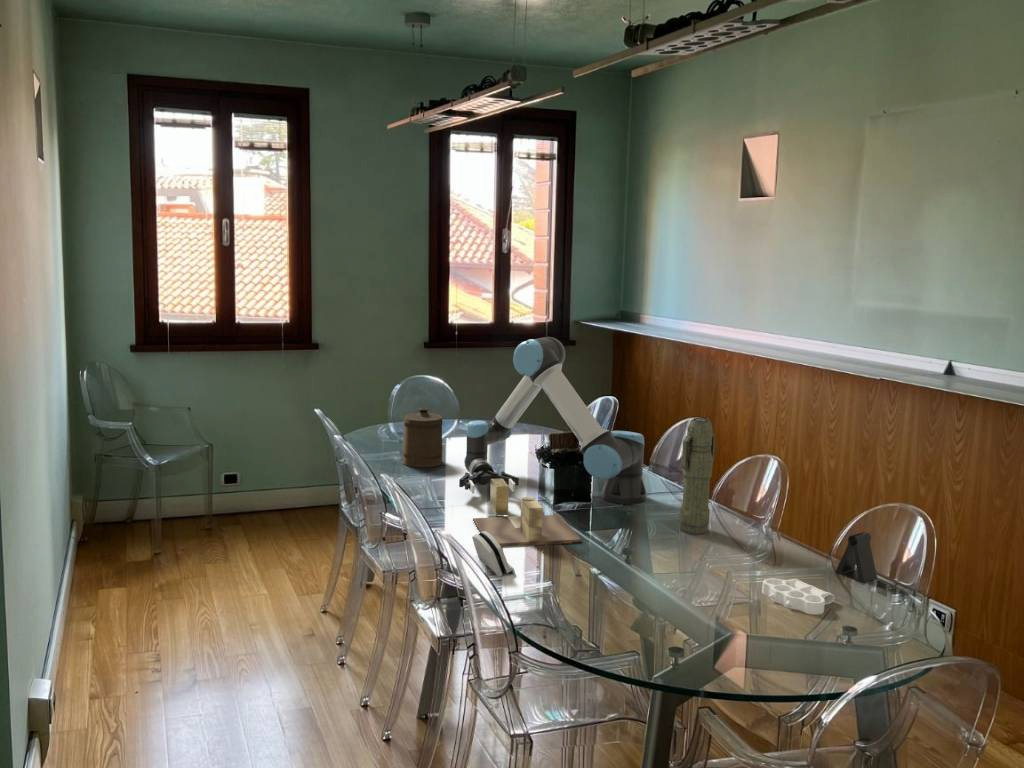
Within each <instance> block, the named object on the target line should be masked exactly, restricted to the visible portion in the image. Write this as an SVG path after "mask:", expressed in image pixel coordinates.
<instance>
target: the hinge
mask: <svg viewBox="0 0 1024 768" xmlns="http://www.w3.org/2000/svg"><path fill="white" fill-rule="evenodd" d="M471 539H472V541H473V545H474V548H475V550H476V555H477V557H478V558H479V559H480V560H481V561H482V562H483V563H484V564H485V565H486V566H487V567H488V568H489V569H490V570H491V571H492V572H493V573H494V574H495V575H496V576H497V577H503V575H504V573H506V574H508V573H512V574H513V575H516V572H515V571H516V570H515V568H514V567H513V566H511V565H510V564H509V563H508V561H507V558H506V555H505V553H504V549H503V547H501V546H500V545H499V543H498V542H497V541H496V540H495V538H494V537H493V536H492V535H491V534H490V533H488V532H486V531H483V532H480V533H478V534H476V533H475V534H474V535H473V536H472V537H471Z"/></svg>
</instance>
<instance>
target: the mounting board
mask: <svg viewBox="0 0 1024 768" xmlns="http://www.w3.org/2000/svg"><path fill="white" fill-rule="evenodd" d="M543 510H544V509H543V506H542V505H541V504H540V503H539V501H538V500H537V499H536V497H534V496H533V497H532V496H524V497H521V498H520V516H508V517H495V516H494V517H473V518H472V522H473V521H474V523H475V524H474V523H473V524H474V526H475V525H476V526H475V527H477V528H476V530H477V531H478V530H479V531H478V532H483V531H486V532H488V533H490V534H491V535H492V536H493V537H494V538H495V540H496V541H497V542H498V543H499V545H500V546H501V548H503V547H522V546H541V545H558V544H559V545H561V544H563V543H564V544H573V543H572V542H580V541H581V542H582V538H581V537H580V536H579V535H578V534H577V533H576V531H574V529H573V528H572V527H571V526H570V525H569V524H568V522H567V521H566V520H565V519H564V518H563V517H562V516H561V515H560V514H545V515H543Z"/></svg>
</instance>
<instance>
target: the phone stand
mask: <svg viewBox="0 0 1024 768" xmlns="http://www.w3.org/2000/svg"><path fill="white" fill-rule="evenodd" d="M871 539H872V537H871V534H870V533H869V532H865V531H862V532H859V533H855V534H852V535H849V536H848V538H847V546H846V548H845V550H844V553H843V554H842V556H841V559H840V561H839V563H838V565H837V567H836V570H835V574H837V575H840V576H842V577H845V578H847V579H850V580H853V581H856V582H859V583H863V584H865V583H867V582H871V581H873V580H877V579H878V574H877V570H876V567H875V561H874V556H873V552H872V548H871Z"/></svg>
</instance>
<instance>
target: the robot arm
mask: <svg viewBox="0 0 1024 768" xmlns="http://www.w3.org/2000/svg"><path fill="white" fill-rule="evenodd" d="M565 359H566V349H565V347H564V345H563V343H562V342H561V341H560V340H558V339H557V338H555V337H551V336H544V337H540V338H535V339H533V338H531V339H527V340H525V341H522V342H521V343H519V344H518V345H517V346H516V348H515V349H514V352H513V359H512V361H513V366H514V369H515V370H516V372H517V373H519V374H520V375H522V376H523V377H522V378H521V380H520V381H519V382H518V384H517V385H516V387H515V388H514V389H513V391H512V392H511V394H510V395H509V397H508V398H507V399H506V401H505V402H504V403H503V404H502V406H501V407H500V409H499V410H498V411H497V413H496V415H495V416H494V417H493V418H492V420H491V421H490V422H487V421H485V420H471V421H469V422H468V423H467V426H466V453H465V454H466V455H465V457H464V467H465V470H466V472H465V473H464V475H463V476H461V478H460V479H459V480H458V481H459V484H458V487H460V488H464V490H466V491H467V490H469V491H470V493H471V494H475V489H476V486H475V485H482V486H484V485H488V484H491V479H504V481H505V482H506V483H507V485H508V486H509V489H510V490H511V491H512V492H513V493H516V487H517V486H519V481H520V480H519V479H520V478H519V477H518V476H515V475H511V474H509V473H507V472H505V471H500V472H499V473H498V472H495V470H494V468H493V466H491V464H490V463H489V462H488V450H489V449H488V446H489V445H490V446H491V445H492V444H495V443H498V442H502V441H505V440H507V439H508V438H510V437H511V436H512V434H513V428H514V426H515V425H516V423H517V422H518V421H519V419H520V418H521V416H523V414H524V413H525V411H526V410H527V409H528V407H529V406H530V404H531V403H532V402H533V400H534V399H535V398H536V397H537V395H538V394H539V392H540V391H541V390H543V391H544V394H545V395H546V396H547V398H549V400H550V402H551V403H552V405H553V406H554V407H555V408H556V410H557V412H558V414H560V416H561V417H562V419H563V420H564V421H565V423H566V425H567V426H568V427H569V429H570V430H571V431H572V433H573V434H574V436H575V437H576V439H577V440H578V441H579V443H580V449H579V451H580V452H581V454H582V455H583V467H584V468H585V471H587V473H588V474H589V475H590V476H592V477H593V478H595V479H598V480H605V483H604V485H603V487H602V490H601V498H602V499H603V500H605V501H607V502H611V503H614V504H620V505H621V504H622V505H633V504H641V503H644V502H646V501H647V489H646V487H645V481H644V478H643V469H644V455H645V437H644V435H643V434H641V433H638V432H633V431H626V430H612V431H610V430H609V429H605V428H602V426H601V425H600V423H599V422H598V420H596V419H597V418H595V416H594V415H593V413H591V411H590V409H589V408H588V406H587V405H586V404H585V403H584V401H583V400H582V398H581V396H580V395H579V394H578V392H577V391H576V390H575V388H574V387H573V385H572V384H571V383H570V381H569V380H568V378H567V377H566V375H565V374H564V373H563V372H562V371H563V370H562V369H563V365H564V363H565Z"/></svg>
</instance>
